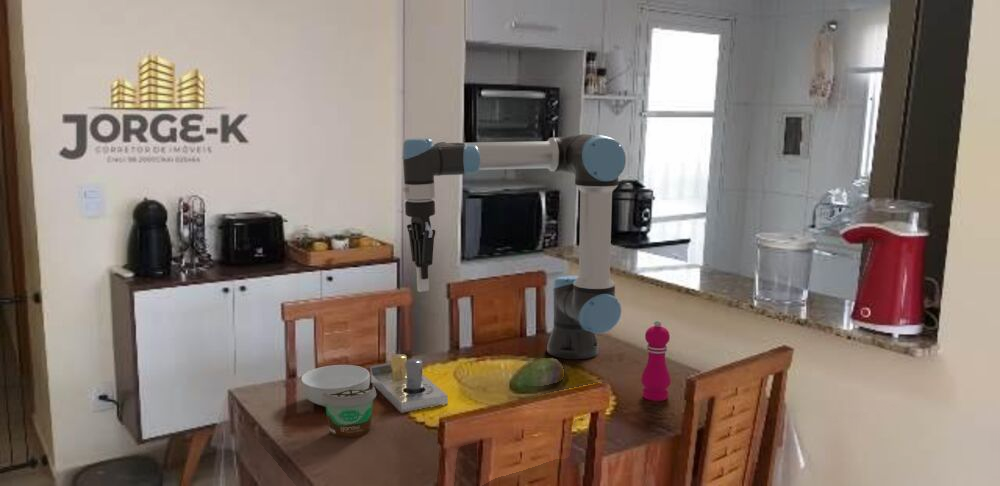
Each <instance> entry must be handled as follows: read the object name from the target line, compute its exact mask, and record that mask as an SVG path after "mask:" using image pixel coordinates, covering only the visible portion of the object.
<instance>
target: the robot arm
mask: <svg viewBox="0 0 1000 486" xmlns="http://www.w3.org/2000/svg"><path fill="white" fill-rule="evenodd" d="M402 146H403V148H402V160H403V163H402V164H403V180H404V188H403V189H402V190H403V191H402V192H404V198H405V200H406V201H405V202H404V207H405V208H404V209H405V210H404V211H405V215H406V216H407V217H409V218H411V219H410V224H407V226H406V229H407V232H408V237H409V244H410V245H409V246H410V251H411V252H410V253H411V260H412V262H414V264H415V268H416V269H415V271H416V290H417V292H419V293H421V292H428V291H430V280H429V278H430V276H429V275H430V274H429V272H430V271H429V267H430V266H432V265H433V261H434V259H433V257H434V247H435V246H434V242H435V236H436V229H432V227H431V226H432V225H431V221H430V217H433V216H434V215H435V214H436V204H435V200H434V199H435V198H436V196H435V195H436V194H435V177H438V176H439V177H440V176H460V175H463V176H464V175H465V176H468V175H473V174H477V173H478V172H479V171H484V170H485V171H486V170H487V171H489V170H490V171H491V170H492V171H493V170H524V169H525V170H529V169H530V170H533V169H548V171H549V172H552V173H553V172H559V173H560V172H561V173H569V174H573V175H575V176H574V179H575V180H574V186H575V187H576V188H577V189H578V190H579V192H580V193H579V194H580V197H579V198H580V199H579V202H580V203H579V206H580V207H579V248H578V249H579V251H578V253H579V256H578V275H564V276H559V277H556V278H555V279H554V282H553V283H554V284H553V289H552V290H553V326H552V329H551V332H550V336H549V338H548V341H547V345H546V346H547V354H549V355H550V356H553V357H556V358H559V359H565V360H585V359H586V360H587V359H590V358H594V357H596V356H597V355H598V354H599V343H598V340H597V337H596V334H597V335H599V334H601V335H602V334H605V333H607V332H609V331H611V330H612V329H613V328H614V327H615V326H616V325H617V324H618V323H619V321H620V318H621V315H622V307H621V303H620V302H619V300H618V298H617V297H616V296H615V294H616V283H615V282H614V280H612V279H611V276H610V275H611V268H610V267H611V244H612V242H611V241H612V237H611V236H612V209H613V208H612V207H613V192H614V190H615V189H616V188H617V187H618V186H619V177H620V175H621V174H622V173H623V172H624V170H625V168H626V162H627V160H626V159H627V158H626V152H625V150H624V148H623V146H622V145H621V144H620V143H619V141H617V140H616V139H615V138H612V137H609V136H607V135H602V134H598V135H597V134H588V133H587V134H574V135H569V136H559V137H549V138H548V139H547V140H545V141H541V140H540V141H539V140H538V141H498V142H497V141H493V142H492V141H489V142H487V141H485V142H484V141H483V142H445V141H442V142H441V141H439V142H437V143H433V140H432V139H431V138H408V139H406V140H404V142H403V144H402Z"/></svg>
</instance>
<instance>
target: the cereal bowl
mask: <svg viewBox="0 0 1000 486" xmlns="http://www.w3.org/2000/svg"><path fill="white" fill-rule="evenodd" d="M300 379H301V380H300V382H301V383H300V384H301V389H302V394H303V395H304V396H305V398H306V399H307V400H308V401H310V402H312V403H313V404H315V405H319V406H322V407H324V408H326V406H325V403H324V402H323V401H322V395H323V394H324V392H325V393H327V394H329V395H330V394H336V393H340V392H344V391H347V390H364V389H369V388H370V384H371V375H370V371H369V370H367V368H364V367H362V366H358V365H352V364H333V365H326V366H321V367H317V368H314V369H311V370H309V371H307V372H305V373H304V374H303V375H302V376H301V378H300Z"/></svg>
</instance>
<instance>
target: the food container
mask: <svg viewBox="0 0 1000 486" xmlns="http://www.w3.org/2000/svg"><path fill="white" fill-rule="evenodd" d="M376 397H377V391H376V387H375V386H374V385H373V384H372V386H371V387H369V388H368V389H364V390H347V391H344V392H340V393H336V394H330V395H329V394H327V393H325V392H324V394H323V395H322V401H323V402H324V403H325V406H326V407H325V410H326V416H327V417H326V418H327V425H328V431H329V434H330V435H331V436H333V437H335V438H339V439H357V438H361V437H363V436H365V435H367V434H369V433H370V432H371V430H372V421H373V406H374V404H373V403H374V399H375V398H376Z"/></svg>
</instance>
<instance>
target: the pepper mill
mask: <svg viewBox="0 0 1000 486" xmlns="http://www.w3.org/2000/svg"><path fill="white" fill-rule="evenodd" d="M653 324H654V325H653V326H651V327H649V328H647V330H646V331H645V337H644V338H645V341H646V343H647V344H646V347H647V348H646V351H647V352H648V358H647V362H646V365H645V368H644V369H643V372H642V375H641V379H640V380H641V384H642V386H643V387H644V388H643V389H642V397H643V398H644V399H645V400H648V401H652V402H663V401H666V400H667V399H668V398H669V390H668V388H669V386H670V385H671V375H670V371H669V369H668V367H667V363H666V353H667V352H668V345H667V344H668V343H669V342H670V340H671V339H670V338H671V337H670V335H671V334H670V332H669V330H668V329H667V328H665V326H662V321H660V320H657V319H656V320H655V321H654V323H653Z"/></svg>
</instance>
